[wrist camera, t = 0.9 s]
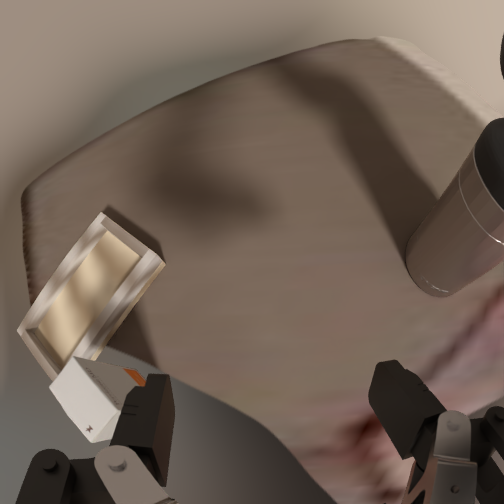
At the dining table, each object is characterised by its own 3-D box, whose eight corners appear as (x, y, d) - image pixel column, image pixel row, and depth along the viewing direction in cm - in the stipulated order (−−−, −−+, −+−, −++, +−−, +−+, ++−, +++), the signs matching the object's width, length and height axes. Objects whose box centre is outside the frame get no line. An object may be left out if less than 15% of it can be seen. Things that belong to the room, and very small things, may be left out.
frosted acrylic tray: (111, 222, 39) (101, 211, 36) (165, 264, 35) (157, 254, 33) (30, 334, 33) (16, 330, 30) (74, 391, 30) (59, 390, 27)
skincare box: (173, 404, 29) (120, 411, 18) (150, 430, 28) (90, 446, 17) (135, 366, 31) (72, 353, 20) (114, 391, 30) (46, 388, 19)
